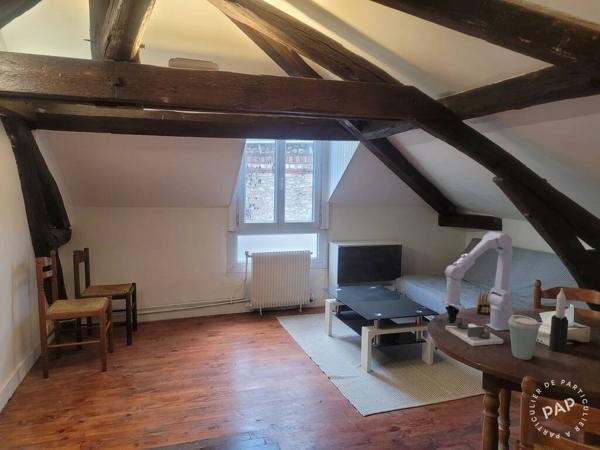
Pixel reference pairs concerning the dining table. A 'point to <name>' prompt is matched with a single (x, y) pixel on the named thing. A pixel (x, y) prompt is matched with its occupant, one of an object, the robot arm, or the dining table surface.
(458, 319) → the knob
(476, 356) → the dining table surface
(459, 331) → the base
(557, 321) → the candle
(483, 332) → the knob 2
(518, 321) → the disposable coffee cup
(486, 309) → the ammunition clip
